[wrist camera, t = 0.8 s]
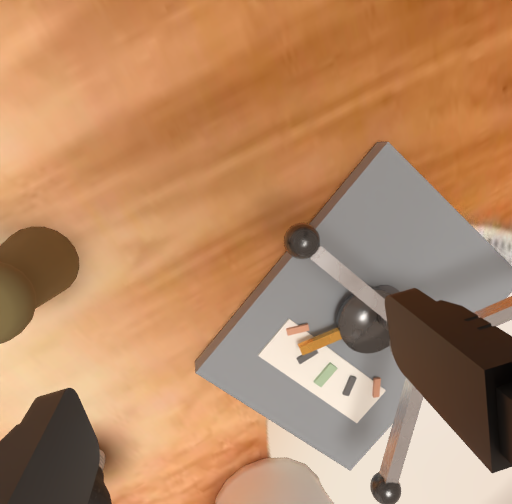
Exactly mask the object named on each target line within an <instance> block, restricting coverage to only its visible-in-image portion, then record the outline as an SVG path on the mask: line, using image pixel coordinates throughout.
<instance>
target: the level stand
mask: <svg viewBox="0 0 512 504" xmlns="http://www.w3.org/2000/svg"><path fill="white" fill-rule="evenodd" d="M309 225H311V226H313V227H314V228H315V229H316V230H317V231H318V233H319V236H320V246H322V247H323V248H324V249H325V250H326V251H328V252H329V253H330V254H331V255H332V256H334V257H335V258H336V259H337V260H338V261H340V262H341V263H342V264H343V265H344V266H346V267H347V268H348V269H349V270H350V271H352V272H353V273H354V274H355V275H356V276H358V277H359V278H360V279H361V280H362V281H364V282H365V283H366V284H367V285H368V286H370V287H377V288H381V289H384V290H386V291H387V292H389V293H390V294H394V293H398V292H401V291H405V290H408V289H412V288H417V289H418V290H420V291H422V292H423V293H425V294H426V295H428V296H429V297H431V298H432V299H434V300H435V301H439V300H443V301H447V302H451V303H454V304H458V305H461V306H463V307H465V308H467V309H468V310H470V311H471V312H476V311H478V310H480V309H483V308H485V307H487V306H490V305H492V304H494V303H497V302H499V301H501V300H504V299H506V298H507V297H508V295H509V294H510V293H511V292H512V266H511V265H510V264H509V263H508V262H507V261H506V260H505V259H504V258H503V257H502V256H501V255H500V254H499V253H498V252H497V251H496V250H495V249H494V248H493V247H492V246H491V245H490V244H489V243H488V242H487V241H486V240H485V239H484V238H483V237H482V236H481V235H480V234H479V233H478V232H477V231H476V230H475V229H474V228H473V227H472V226H471V225H470V224H469V223H468V222H467V221H466V220H465V219H464V218H463V217H462V216H461V215H460V214H459V213H458V212H457V211H456V210H455V209H454V208H453V207H452V206H451V205H450V204H449V203H448V202H447V201H446V200H445V199H444V198H443V197H442V196H441V195H440V194H439V192H438V191H437V190H436V189H435V188H434V187H433V186H432V185H431V184H430V183H429V182H428V181H427V180H426V179H425V178H424V177H423V176H422V175H421V174H420V173H419V172H418V171H417V170H416V169H415V168H414V167H413V166H412V165H411V164H410V163H409V162H408V161H407V160H406V159H405V158H404V157H403V156H402V155H401V154H400V153H399V152H398V151H397V150H396V149H395V148H394V147H393V146H392V145H391V144H390V143H389V142H377V143H376V144H375V145H374V147H373V148H372V149H371V150H370V151H369V153H368V154H367V155H366V156H365V157H364V159H363V160H362V161H361V162H360V164H359V165H358V166H357V167H356V168H355V170H354V171H353V172H352V173H351V174H350V176H349V177H348V178H347V179H346V180H345V182H344V183H343V184H342V185H341V186H340V188H339V189H338V190H337V191H336V192H335V194H334V195H333V196H332V197H331V198H330V200H329V201H328V202H327V203H326V204H325V206H324V207H323V208H322V209H321V210H320V212H319V213H318V214H317V215H316V217H315V218H314V219H313V220H312V221H311V223H310V224H309ZM351 293H352V292H350V291H349V290H348V289H347V288H345V287H344V286H343V285H342V284H341V283H339V282H338V281H337V280H336V279H334V278H333V277H332V276H331V275H329V274H328V273H327V272H326V271H325V270H323V269H322V268H321V267H320V266H318V265H317V264H316V263H315V262H313V261H312V260H311V259H310V258H307V259H297V258H294V257H292V256H291V255H290V254H289V253H288V252H287V251H286V253H285V254H284V255H283V256H282V257H281V259H280V260H279V261H278V262H277V263H276V265H275V266H274V267H273V268H272V270H271V271H270V272H269V273H268V274H267V276H266V277H265V278H264V279H263V280H262V282H261V283H260V284H259V285H258V286H257V288H256V289H255V290H254V291H253V292H252V294H251V295H250V296H249V297H248V298H247V300H246V301H245V302H244V303H243V304H242V306H241V307H240V308H239V309H238V310H237V312H236V313H235V314H234V315H233V316H232V318H231V319H230V320H229V321H228V323H227V324H226V325H225V326H224V327H223V329H222V330H221V331H220V332H219V333H218V335H217V336H216V337H215V338H214V339H213V341H212V342H211V343H210V344H209V345H208V347H207V348H206V349H205V350H204V351H203V353H202V354H201V355H200V356H199V357H198V359H197V360H196V361H195V373H196V374H198V375H200V376H201V377H203V378H204V379H206V380H207V381H209V382H211V383H212V384H214V385H215V386H217V387H219V388H220V389H222V390H223V391H225V392H226V393H228V394H230V395H231V396H233V397H234V398H236V399H238V400H239V401H241V402H242V403H244V404H245V405H247V406H249V407H250V408H252V409H253V410H255V411H256V412H258V413H260V414H261V415H263V416H264V417H266V418H268V419H269V420H271V421H272V422H274V423H276V424H277V425H279V426H280V427H282V428H283V429H285V430H287V431H288V432H290V433H292V434H293V435H294V436H296V437H298V438H299V439H301V440H303V441H304V442H306V443H307V444H309V445H310V446H312V447H314V448H315V449H317V450H318V451H320V452H321V453H323V454H325V455H326V456H328V457H330V458H331V459H333V460H334V461H336V462H337V463H339V464H341V465H342V466H344V467H345V468H347V469H348V470H351V469H352V468H353V467H354V466H355V465H356V464H357V463H358V461H359V460H360V459H361V458H362V457H363V456H364V455H365V454H366V453H367V451H368V450H369V449H370V448H371V447H372V446H373V445H374V444H375V443H376V441H377V440H378V439H379V438H380V437H381V436H382V435H383V434H384V433H385V432H386V430H387V429H388V428H389V427H390V426H391V425H392V424H393V422H394V418H395V415H396V411H397V407H398V404H399V400H400V397H401V393H402V390H403V386H404V383H405V379H406V377H405V376H404V375H403V373H402V372H401V371H400V369H399V368H398V366H397V364H396V362H395V359H394V357H393V355H392V354H391V351H390V345H389V346H388V347H387V348H385V349H383V350H381V351H379V352H375V353H369V354H365V353H359V352H356V351H354V350H352V349H351V348H349V347H348V346H347V345H346V343H345V342H344V341H343V340H342V339H341V340H338V341H336V342H334V343H331V344H329V345H327V346H324V347H322V348H320V349H317V350H315V351H312V352H310V353H308V354H305V355H302V354H301V352H300V349H299V346H298V344H299V343H301V342H304V341H306V340H308V339H311V338H313V337H316V336H318V335H320V334H323V333H325V332H327V331H330V330H332V329H335V328H336V316H337V312H338V310H339V307H340V306H341V304H342V302H343V301H344V300H345V299H346V298H347V297H348V296H349V295H350V294H351Z"/></svg>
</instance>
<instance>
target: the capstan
mask: <svg viewBox="0 0 512 504" xmlns="http://www.w3.org/2000/svg"><path fill="white" fill-rule="evenodd" d="M284 246H285V249H286V250H287V252H288V253H289V254H290V255H291V256H292V257H294V258H297V259H307V258H310V259H311V260H312V261H313V262H315V263H316V264H317V265H318V266H320V267H321V268H322V269H323V270H325V271H326V272H327V273H328V274H329V275H331V276H332V277H333V278H334V279H336V280H337V281H338V282H339V283H341V284H342V285H343V286H344V287H345V288H347V289H348V290H349V291H350V292H352V293H351V294H350V295H349V296H348V297H347V298H346V299H345V300H344V301H343V302H342V304H341V306H340V307H339V310H338V312H337V316H336V328H335V329H332V330H330V331H327V332H325V333H323V334H320V335H318V336H316V337H313V338H311V339H308V340H306V341H304V342H301V343H299V344H298V346H299V349H300V352H301V354H302V355H305V354H308V353H310V352H312V351H315V350H317V349H320V348H322V347H324V346H327V345H329V344H331V343H334V342H336V341H338V340H341V339H342V340H343V341H344V342H345V343H346V345H347V346H348V347H349V348H351V349H352V350H354V351H356V352H359V353H365V354H369V353H375V352H379V351H381V350H383V349H385V348H387V347H388V346H389V345H390V351H391V354H392V355H393V353H392V349H391V343H390V337H389V330H388V324H387V317H386V311H385V297H386V296H388V295H391V294H390V293H389V292H387V291H386V290H384V289H381V288H377V287H370V286H368V285H367V284H366V283H365V282H364V281H362V280H361V279H360V278H359V277H358V276H356V275H355V274H354V273H353V272H352V271H350V270H349V269H348V268H347V267H346V266H344V265H343V264H342V263H341V262H340V261H338V260H337V259H336V258H335V257H334V256H332V255H331V254H330V253H329V252H328V251H326V250H325V249H324V248H323V247H322V246H320V236H319V233H318V231H317V230H316V229H315V228H314V227H313V226H311V225H309V224H306V223H298V224H295V225H293V226H291V227H290V228H289V229H288V230H287V232H286V234H285V237H284ZM473 313H475V314H476V315H478V317H479V318H483V319H484V320H486V321H488V322H489V323H491V325H492V326H498V325H500V324H503V323H505V322H507V321H509V320H512V296H511V297H508V298H506V299H504V300H501V301H499V302H497V303H494V304H492V305H490V306H487V307H485V308H483V309H480V310H478V311H476V312H473ZM422 400H423V396H422V395H421V393H420V392H419V391H418V390H417V389H416V388H415V387H414V386H413V385H412V383H411V382H410V381H409V380H408V379H407V378H406V379H405V383H404V386H403V390H402V393H401V397H400V400H399V404H398V407H397V411H396V415H395V418H394V422H393V425H392V429H391V432H390V436H389V440H388V443H387V447H386V451H385V454H384V457H383V461H382V465H381V469H380V472H378V473H377V474H375V475H374V476H373V478H372V480H371V492H372V494H373V496H374V498H375V499H376V500H377V501H378V502H380V503H381V504H395V503H396V502H397V501H398V500H399V498H400V495H401V487H400V483H399V478H400V474H401V471H402V467H403V464H404V461H405V457H406V454H407V451H408V447H409V444H410V440H411V437H412V434H413V430H414V427H415V423H416V420H417V417H418V413H419V410H420V406H421V403H422Z"/></svg>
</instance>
